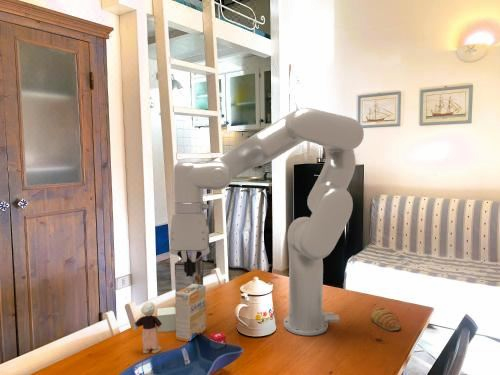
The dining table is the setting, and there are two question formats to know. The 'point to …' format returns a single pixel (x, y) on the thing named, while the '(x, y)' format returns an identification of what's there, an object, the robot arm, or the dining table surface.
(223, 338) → the dice
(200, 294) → the supplement box
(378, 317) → the pastry
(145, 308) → the grandmother figurine
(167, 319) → the sage block
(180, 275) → the coffee box
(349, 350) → the dining table surface
